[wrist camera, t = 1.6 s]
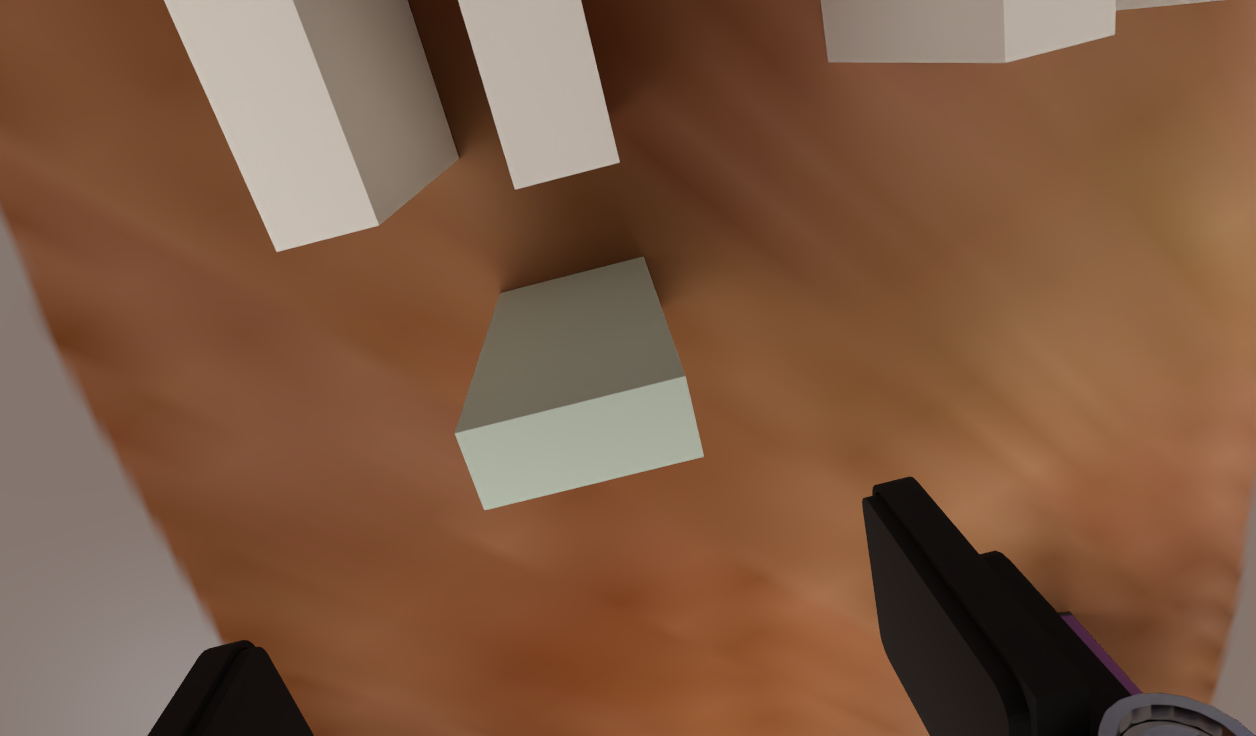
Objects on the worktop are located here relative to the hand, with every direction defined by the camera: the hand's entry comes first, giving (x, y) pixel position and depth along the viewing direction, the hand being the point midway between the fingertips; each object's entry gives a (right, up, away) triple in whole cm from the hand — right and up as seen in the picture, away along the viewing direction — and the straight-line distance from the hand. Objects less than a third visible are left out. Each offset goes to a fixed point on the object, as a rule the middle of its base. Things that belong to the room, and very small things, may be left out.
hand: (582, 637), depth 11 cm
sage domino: (-1, +6, +14) cm, 15 cm away
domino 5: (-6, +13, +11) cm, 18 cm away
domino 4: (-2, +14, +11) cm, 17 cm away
